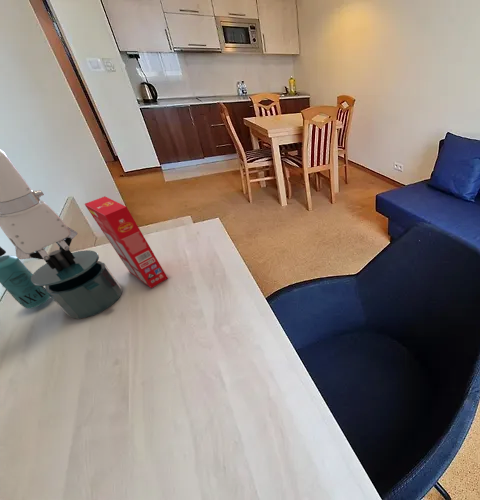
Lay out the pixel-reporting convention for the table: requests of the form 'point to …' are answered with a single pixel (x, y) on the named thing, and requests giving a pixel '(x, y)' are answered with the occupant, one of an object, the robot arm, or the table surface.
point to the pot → (86, 292)
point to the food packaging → (127, 240)
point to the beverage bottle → (20, 282)
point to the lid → (64, 268)
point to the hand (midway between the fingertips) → (65, 265)
